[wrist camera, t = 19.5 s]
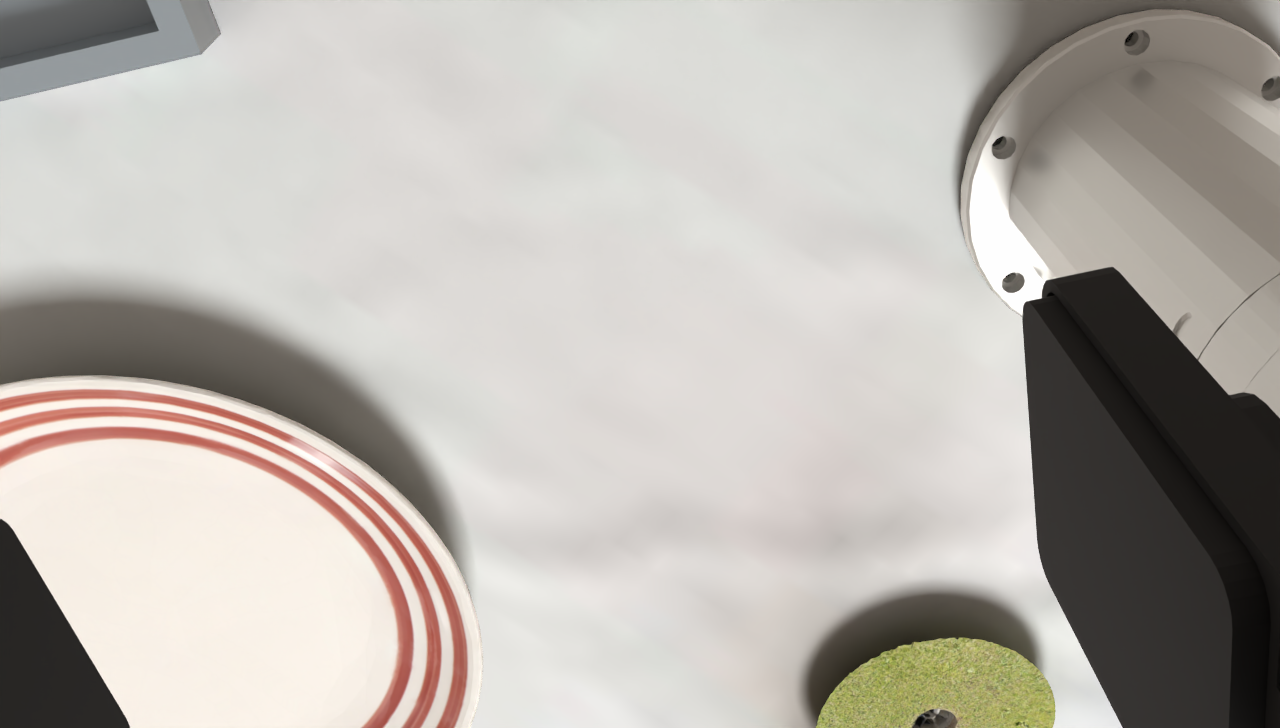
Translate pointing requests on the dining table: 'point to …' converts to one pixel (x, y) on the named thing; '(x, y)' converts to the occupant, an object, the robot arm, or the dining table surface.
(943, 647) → the mat
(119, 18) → the grey square tray
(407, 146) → the dining table surface
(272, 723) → the dinner plate
